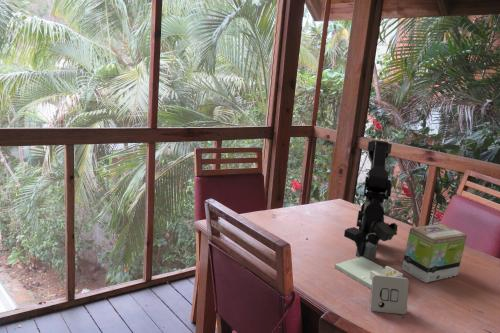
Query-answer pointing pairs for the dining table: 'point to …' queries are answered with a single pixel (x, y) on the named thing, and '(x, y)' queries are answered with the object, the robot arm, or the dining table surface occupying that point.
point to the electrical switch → (389, 294)
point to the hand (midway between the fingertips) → (365, 254)
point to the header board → (365, 270)
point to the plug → (369, 251)
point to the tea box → (433, 252)
